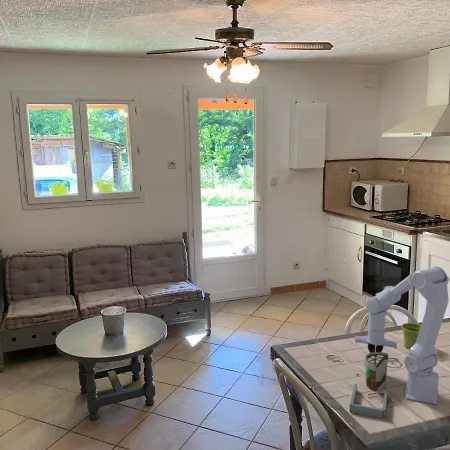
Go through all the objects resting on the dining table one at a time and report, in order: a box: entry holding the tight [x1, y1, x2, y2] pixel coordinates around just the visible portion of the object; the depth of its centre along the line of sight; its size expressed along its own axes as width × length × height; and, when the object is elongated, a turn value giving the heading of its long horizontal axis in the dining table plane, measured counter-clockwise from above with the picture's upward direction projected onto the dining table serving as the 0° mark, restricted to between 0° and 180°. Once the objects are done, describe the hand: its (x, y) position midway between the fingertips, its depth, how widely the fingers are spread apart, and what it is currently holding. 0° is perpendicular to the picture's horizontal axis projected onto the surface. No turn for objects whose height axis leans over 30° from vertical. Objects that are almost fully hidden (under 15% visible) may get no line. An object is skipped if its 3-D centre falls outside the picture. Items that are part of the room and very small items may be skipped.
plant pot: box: [401, 322, 422, 350], centre depth 190 cm, size 9×9×9 cm
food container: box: [363, 351, 389, 392], centre depth 162 cm, size 12×6×10 cm, turn 141°
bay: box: [349, 383, 388, 419], centre depth 150 cm, size 11×14×2 cm
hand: (374, 363), depth 171 cm, fingers closed
